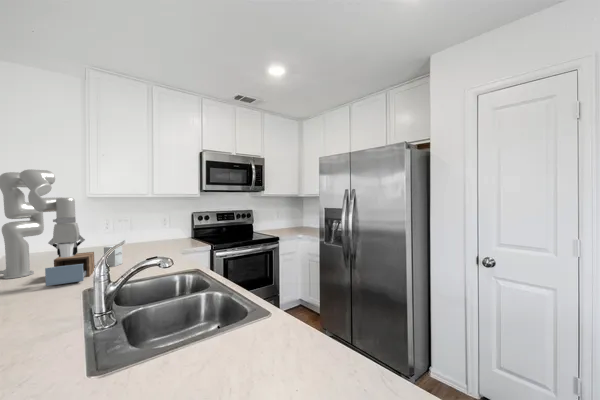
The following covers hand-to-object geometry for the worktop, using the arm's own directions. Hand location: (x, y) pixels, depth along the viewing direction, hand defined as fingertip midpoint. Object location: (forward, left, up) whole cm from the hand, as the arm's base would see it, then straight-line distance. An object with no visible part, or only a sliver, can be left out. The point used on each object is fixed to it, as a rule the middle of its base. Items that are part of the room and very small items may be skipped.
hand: (67, 255), depth 140 cm
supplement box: (+16, +30, -15) cm, 37 cm away
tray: (0, +1, -13) cm, 13 cm away
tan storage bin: (0, +14, -15) cm, 20 cm away
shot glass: (0, 0, -1) cm, 1 cm away
